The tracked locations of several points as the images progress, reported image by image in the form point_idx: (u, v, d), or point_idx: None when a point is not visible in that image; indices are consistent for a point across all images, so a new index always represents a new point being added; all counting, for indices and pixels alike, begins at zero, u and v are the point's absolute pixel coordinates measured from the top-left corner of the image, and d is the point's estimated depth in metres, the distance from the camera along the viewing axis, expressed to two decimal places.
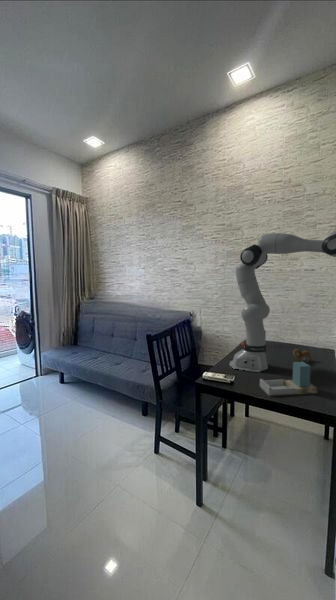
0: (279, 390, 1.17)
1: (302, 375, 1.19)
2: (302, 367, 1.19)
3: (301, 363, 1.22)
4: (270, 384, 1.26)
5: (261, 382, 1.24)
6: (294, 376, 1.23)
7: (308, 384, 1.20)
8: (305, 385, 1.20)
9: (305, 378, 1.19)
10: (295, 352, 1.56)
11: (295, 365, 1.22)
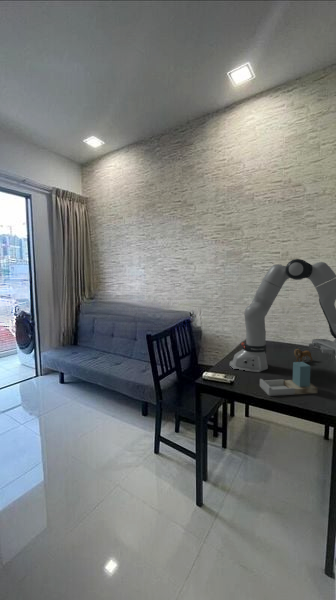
0: (279, 390, 1.17)
1: (302, 375, 1.19)
2: (302, 367, 1.19)
3: (301, 363, 1.22)
4: (270, 384, 1.26)
5: (261, 382, 1.24)
6: (294, 376, 1.23)
7: (308, 384, 1.20)
8: (305, 385, 1.20)
9: (305, 378, 1.19)
10: (296, 352, 1.57)
11: (295, 365, 1.22)
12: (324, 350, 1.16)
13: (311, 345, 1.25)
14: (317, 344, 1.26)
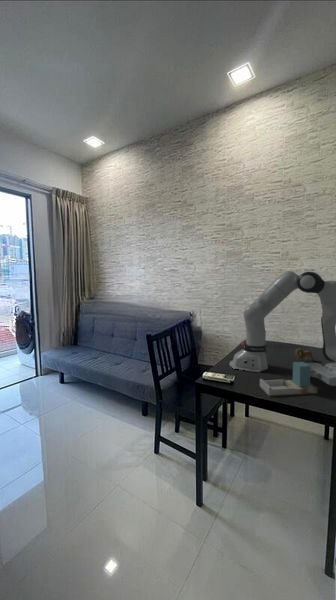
0: (279, 390, 1.17)
1: (302, 375, 1.19)
2: (302, 367, 1.19)
3: (301, 363, 1.22)
4: (270, 384, 1.26)
5: (261, 382, 1.24)
6: (294, 376, 1.23)
7: (308, 384, 1.20)
8: (305, 385, 1.20)
9: (305, 378, 1.19)
10: (297, 352, 1.57)
11: (295, 365, 1.22)
12: None
13: None
14: (313, 371, 1.24)
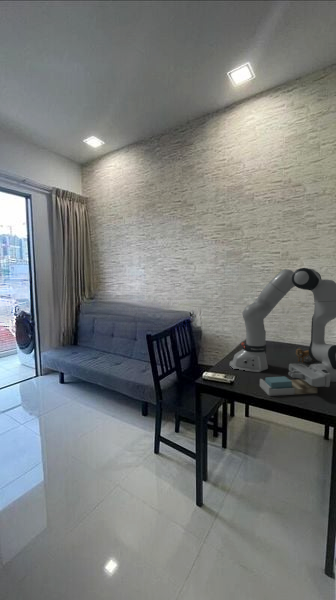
0: (279, 390, 1.17)
1: None
2: None
3: (267, 383, 1.22)
4: None
5: (261, 382, 1.24)
6: None
7: (289, 382, 1.19)
8: (290, 385, 1.19)
9: (283, 387, 1.19)
10: (298, 352, 1.57)
11: None
12: (293, 374, 1.20)
13: None
14: (297, 372, 1.23)
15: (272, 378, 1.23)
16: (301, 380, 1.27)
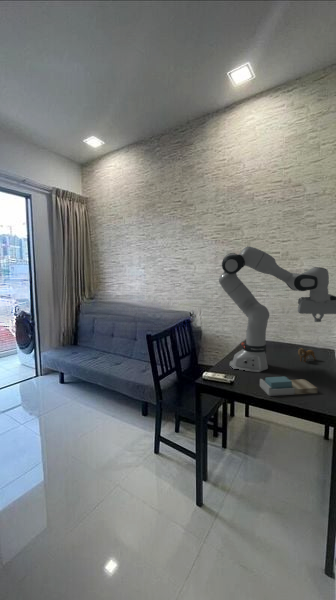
0: (279, 390, 1.17)
1: None
2: None
3: (267, 383, 1.22)
4: None
5: (261, 382, 1.24)
6: None
7: (289, 382, 1.19)
8: (290, 385, 1.19)
9: (283, 387, 1.19)
10: (300, 351, 1.57)
11: None
12: None
13: None
14: None
15: (272, 378, 1.23)
16: (301, 380, 1.27)
